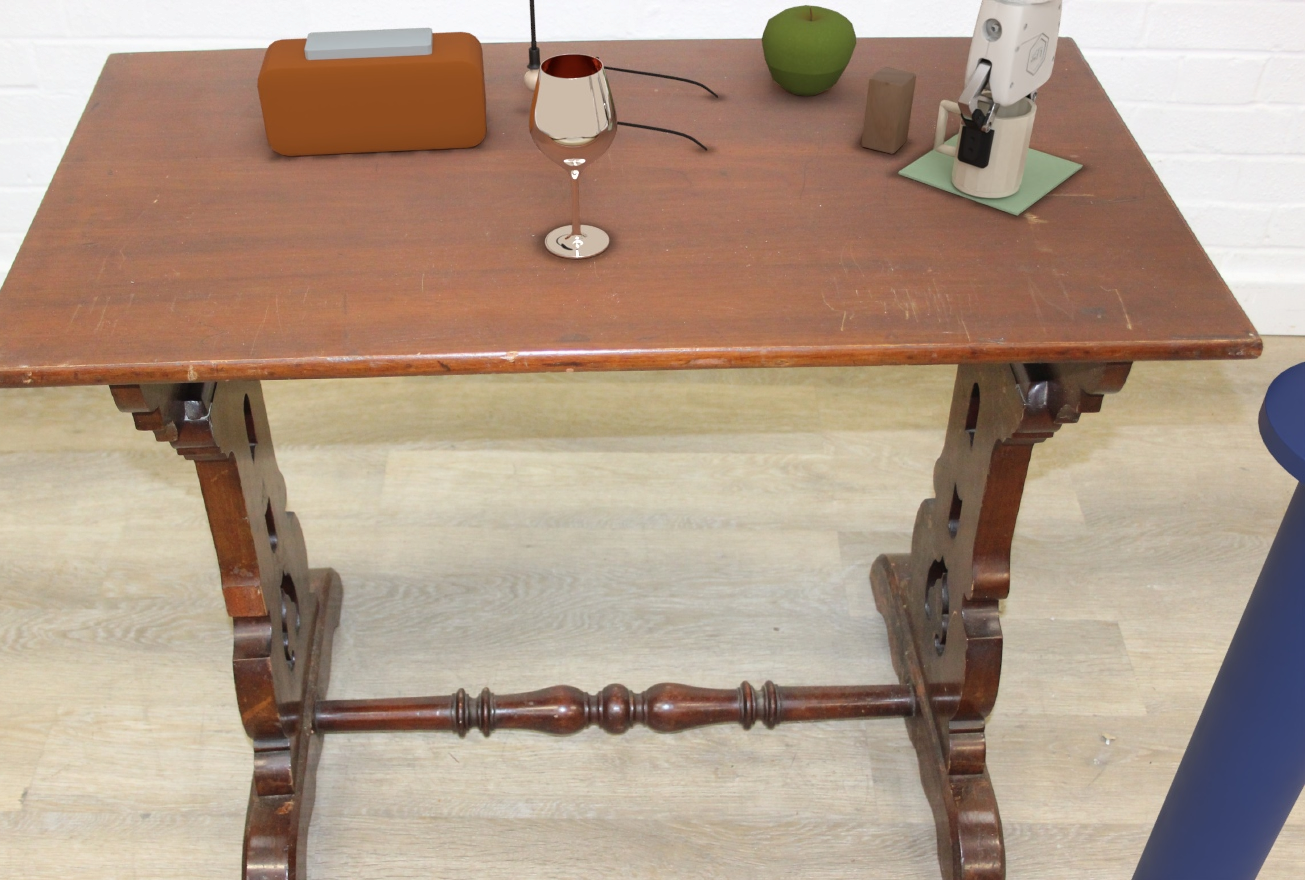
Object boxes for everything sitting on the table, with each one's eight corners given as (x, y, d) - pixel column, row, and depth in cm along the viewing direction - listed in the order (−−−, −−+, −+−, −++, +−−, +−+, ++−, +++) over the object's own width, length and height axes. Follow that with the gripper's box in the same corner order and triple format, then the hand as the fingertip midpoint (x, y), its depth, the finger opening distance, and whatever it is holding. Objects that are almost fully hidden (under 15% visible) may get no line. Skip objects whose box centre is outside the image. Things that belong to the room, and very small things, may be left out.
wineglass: (539, 266, 128) (530, 87, 116) (531, 225, 134) (522, 51, 123) (623, 260, 129) (623, 81, 117) (611, 219, 135) (610, 45, 123)
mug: (1032, 180, 138) (1049, 102, 133) (999, 205, 134) (1014, 125, 129) (948, 152, 144) (960, 77, 138) (913, 175, 140) (924, 98, 134)
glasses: (593, 90, 159) (597, 50, 156) (715, 110, 158) (722, 70, 155) (572, 143, 148) (577, 101, 145) (704, 165, 148) (711, 123, 144)
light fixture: (564, 119, 153) (556, -108, 137) (506, 120, 153) (492, -108, 137) (566, 95, 158) (559, -127, 142) (510, 95, 158) (497, -126, 142)
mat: (1082, 167, 142) (1082, 165, 142) (1017, 215, 134) (1017, 213, 134) (966, 130, 149) (966, 127, 149) (898, 174, 142) (898, 171, 141)
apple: (756, 107, 155) (761, 22, 148) (760, 71, 163) (766, -11, 156) (850, 111, 154) (860, 26, 147) (850, 75, 162) (859, -8, 155)
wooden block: (893, 155, 145) (903, 85, 140) (859, 147, 147) (868, 77, 141) (907, 141, 147) (918, 72, 142) (874, 133, 149) (883, 64, 144)
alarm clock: (487, 116, 154) (480, 19, 147) (487, 148, 148) (480, 48, 141) (278, 125, 153) (261, 28, 146) (269, 158, 147) (251, 58, 139)
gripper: (1015, 9, 118) (981, 192, 129) (1104, -42, 128) (1065, 132, 139) (940, -10, 122) (914, 169, 133) (1032, -58, 132) (1000, 112, 143)
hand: (992, 149), depth 136 cm, fingers closed on mug, 7 cm apart
